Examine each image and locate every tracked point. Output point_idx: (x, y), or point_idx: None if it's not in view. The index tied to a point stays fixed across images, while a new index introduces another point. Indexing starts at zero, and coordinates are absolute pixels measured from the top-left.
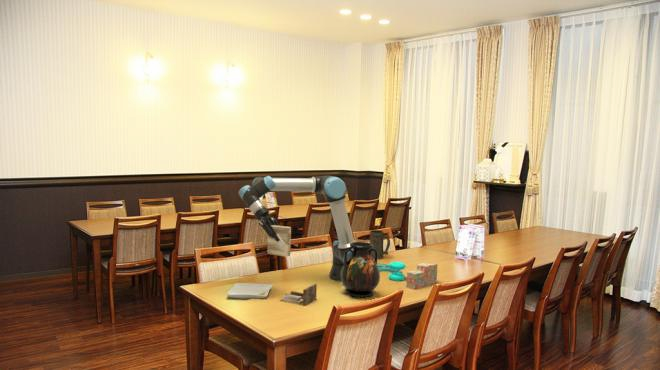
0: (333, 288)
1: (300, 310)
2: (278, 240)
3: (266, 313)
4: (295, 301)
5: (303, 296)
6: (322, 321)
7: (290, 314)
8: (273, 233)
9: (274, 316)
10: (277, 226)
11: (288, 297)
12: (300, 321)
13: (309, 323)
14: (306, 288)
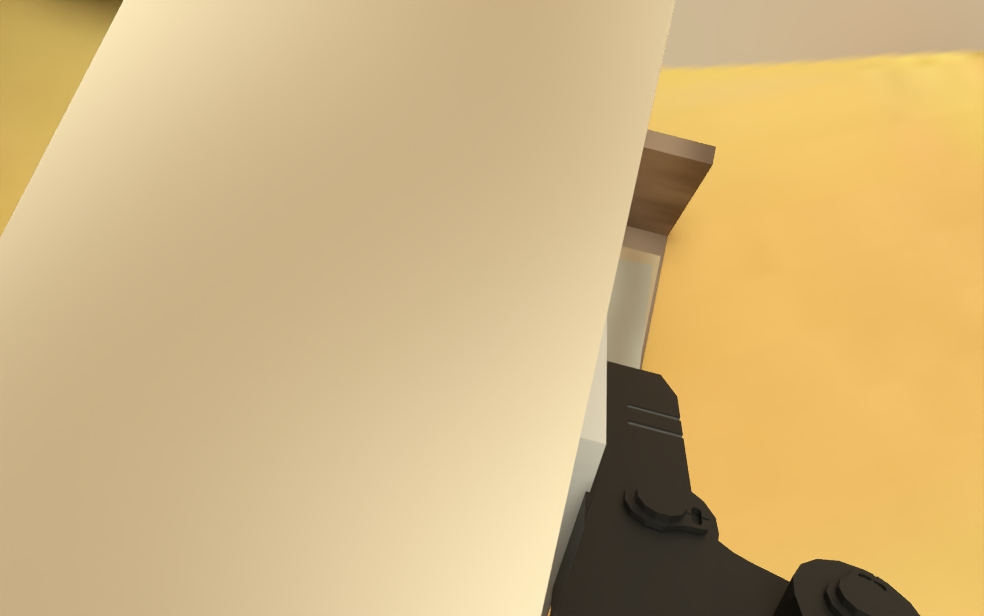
0: (36, 100)
1: (739, 245)
2: (657, 391)
3: (934, 499)
4: (650, 299)
5: (691, 194)
6: (891, 55)
7: (863, 297)
8: (837, 580)
9: (966, 408)
10: (381, 412)
11: (638, 366)
12: (965, 191)
13: (970, 126)
14: (658, 144)
